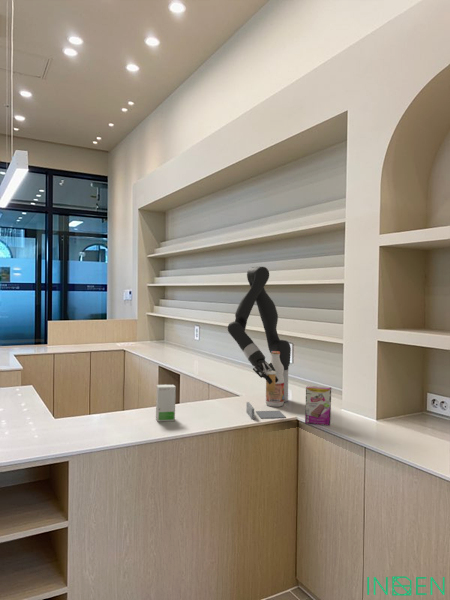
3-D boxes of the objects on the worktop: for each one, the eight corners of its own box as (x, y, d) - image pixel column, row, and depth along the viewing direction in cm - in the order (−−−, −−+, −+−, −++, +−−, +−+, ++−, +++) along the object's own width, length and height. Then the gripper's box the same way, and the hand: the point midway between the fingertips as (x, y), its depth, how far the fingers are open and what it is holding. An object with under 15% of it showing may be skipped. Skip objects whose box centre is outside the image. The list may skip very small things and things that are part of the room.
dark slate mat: (255, 411, 219) (255, 411, 219) (279, 411, 221) (279, 410, 221) (261, 418, 207) (261, 417, 207) (286, 417, 209) (286, 417, 209)
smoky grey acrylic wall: (246, 412, 218) (246, 402, 218) (248, 412, 218) (248, 401, 218) (251, 419, 205) (251, 408, 205) (254, 419, 206) (254, 408, 205)
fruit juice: (262, 403, 236) (263, 350, 235) (277, 402, 240) (278, 350, 240) (271, 407, 227) (272, 353, 227) (287, 406, 231) (288, 352, 231)
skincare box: (157, 422, 199) (157, 387, 199) (155, 418, 206) (155, 384, 206) (175, 420, 202) (176, 386, 202) (173, 417, 208) (173, 383, 208)
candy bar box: (304, 423, 200) (305, 387, 199) (305, 420, 204) (306, 385, 204) (330, 426, 197) (331, 389, 196) (331, 422, 201) (331, 386, 201)
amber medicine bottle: (264, 389, 216) (264, 370, 216) (274, 389, 216) (274, 370, 216) (267, 391, 211) (267, 372, 211) (276, 391, 212) (276, 372, 212)
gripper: (249, 351, 213) (270, 379, 205) (266, 348, 224) (287, 375, 216) (240, 361, 216) (260, 389, 209) (258, 358, 227) (277, 384, 220)
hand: (274, 382), depth 212 cm, fingers closed on amber medicine bottle, 4 cm apart
